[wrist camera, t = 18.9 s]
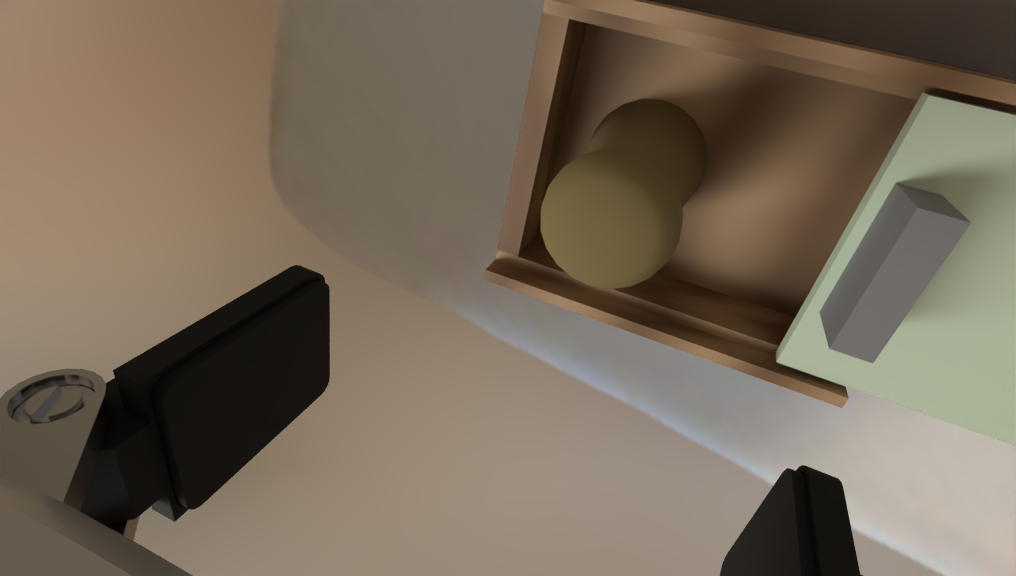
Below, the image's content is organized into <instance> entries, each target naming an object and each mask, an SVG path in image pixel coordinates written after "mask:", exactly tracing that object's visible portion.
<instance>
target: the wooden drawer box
mask: <svg viewBox="0 0 1016 576" xmlns="http://www.w3.org/2000/svg"><path fill="white" fill-rule="evenodd" d="M923 92H924V93H928V94H933V95H937V96H941V97H946V98H950V99H954V100H959V101H963V102H968V103H972V104H976V105H981V106H985V107H989V108H994V109H998V110H1002V111H1007V112H1011V113H1015V114H1016V81H1012V80H1009V79H1005V78H1002V77H998V76H995V75H991V74H987V73H982V72H977V71H973V70H968V69H964V68H959V67H954V66H950V65H945V64H941V63H936V62H931V61H927V60H922V59H918V58H913V57H908V56H904V55H899V54H895V53H890V52H885V51H881V50H876V49H872V48H867V47H862V46H858V45H853V44H849V43H844V42H839V41H835V40H830V39H826V38H821V37H816V36H812V35H807V34H803V33H798V32H793V31H789V30H784V29H780V28H775V27H770V26H766V25H761V24H757V23H752V22H747V21H743V20H738V19H734V18H729V17H724V16H720V15H715V14H711V13H706V12H701V11H697V10H692V9H688V8H683V7H678V6H674V5H669V4H665V3H660V2H655V1H651V0H545V2H544V8H543V13H542V18H541V23H540V29H539V34H538V39H537V44H536V50H535V55H534V60H533V65H532V71H531V76H530V81H529V87H528V92H527V97H526V102H525V108H524V113H523V118H522V123H521V129H520V134H519V139H518V144H517V150H516V155H515V160H514V165H513V171H512V176H511V181H510V186H509V192H508V197H507V202H506V207H505V213H504V218H503V223H502V228H501V234H500V239H499V244H498V249H497V255H496V259H495V260H494V262H493V263H492V264H491V265H490V266H489V267H488V268H487V269H486V271H485V276H484V280H487V281H490V282H492V283H495V284H498V285H501V286H504V287H506V288H509V289H512V290H515V291H517V292H520V293H523V294H526V295H529V296H531V297H534V298H537V299H540V300H543V301H545V302H548V303H551V304H554V305H557V306H559V307H562V308H565V309H568V310H570V311H573V312H576V313H579V314H582V315H584V316H587V317H590V318H593V319H596V320H598V321H601V322H604V323H607V324H609V325H612V326H615V327H618V328H621V329H623V330H626V331H629V332H632V333H635V334H637V335H640V336H643V337H646V338H649V339H651V340H654V341H657V342H660V343H662V344H665V345H668V346H671V347H674V348H676V349H679V350H682V351H685V352H688V353H690V354H693V355H696V356H699V357H701V358H704V359H707V360H710V361H713V362H715V363H718V364H721V365H724V366H727V367H729V368H732V369H735V370H738V371H741V372H743V373H746V374H749V375H752V376H754V377H757V378H760V379H763V380H766V381H768V382H771V383H774V384H777V385H780V386H782V387H785V388H788V389H791V390H793V391H796V392H799V393H802V394H805V395H807V396H810V397H813V398H816V399H819V400H821V401H824V402H827V403H830V404H833V405H835V406H838V407H841V408H842V407H843V406H844V404H845V403H846V401H847V400H848V394H847V391H846V387H845V386H843V385H840V384H837V383H834V382H831V381H829V380H826V379H823V378H820V377H817V376H814V375H811V374H809V373H806V372H803V371H800V370H797V369H794V368H791V367H789V366H786V365H783V364H780V363H777V362H776V355H775V353H776V351H777V349H778V347H779V346H780V344H781V342H782V340H783V338H784V337H785V335H786V333H787V331H788V330H789V328H790V326H791V324H792V323H793V321H794V319H795V317H796V315H797V314H798V312H799V310H800V308H801V307H802V305H803V303H804V301H805V300H806V298H807V296H808V294H809V292H810V291H811V289H812V287H813V285H814V284H815V282H816V280H817V278H818V277H819V275H820V273H821V271H822V269H823V268H824V266H825V264H826V262H827V261H828V259H829V257H830V255H831V254H832V252H833V250H834V248H835V246H836V245H837V243H838V241H839V239H840V238H841V236H842V234H843V232H844V231H845V229H846V227H847V225H848V223H849V222H850V220H851V218H852V216H853V215H854V213H855V211H856V209H857V208H858V206H859V204H860V202H861V200H862V199H863V197H864V195H865V193H866V192H867V190H868V188H869V186H870V185H871V183H872V181H873V179H874V177H875V176H876V174H877V172H878V170H879V169H880V167H881V165H882V163H883V162H884V160H885V158H886V156H887V154H888V153H889V151H890V149H891V147H892V146H893V144H894V142H895V140H896V139H897V137H898V135H899V133H900V131H901V130H902V128H903V126H904V124H905V123H906V121H907V119H908V117H909V116H910V114H911V112H912V110H913V109H914V107H915V105H916V103H917V101H918V100H919V98H920V96H921V94H922V93H923ZM639 99H657V100H664V101H666V102H669V103H671V104H674V105H676V106H679V107H681V108H682V109H683V110H684V111H685V112H686V113H688V114H689V115H690V116H691V117H692V118H693V119H695V121H696V123H697V125H698V126H699V128H700V130H701V132H702V133H703V135H704V138H705V144H706V150H707V161H706V167H705V173H704V176H703V178H702V180H701V182H700V183H699V185H698V187H697V189H696V191H695V192H694V194H693V195H692V196H691V197H690V199H689V200H688V201H687V202H686V204H685V205H684V206H683V207H682V209H683V214H684V215H683V221H682V228H681V235H680V240H679V243H678V245H677V247H676V248H675V250H674V252H673V254H672V256H671V258H670V260H669V261H668V262H667V263H666V264H665V265H663V266H662V267H661V268H660V269H659V270H658V271H657V272H656V273H655V274H654V275H653V276H651V277H650V278H649V279H646V280H644V281H642V282H640V283H638V284H635V285H633V286H631V287H623V288H616V289H607V288H600V287H594V286H590V285H588V284H585V283H583V282H581V281H579V280H577V279H574V278H572V277H571V276H570V275H569V274H568V273H566V272H565V271H564V270H563V269H562V268H560V267H559V266H558V265H557V264H556V262H555V261H554V259H553V258H552V256H551V255H550V253H549V252H548V250H547V249H546V246H545V243H544V239H543V236H542V233H541V207H542V203H543V200H544V197H545V195H546V192H547V189H548V186H549V184H550V183H551V182H552V181H553V179H554V178H555V177H556V176H557V174H558V173H559V172H560V171H561V169H562V168H563V167H565V166H566V165H567V164H569V163H570V162H572V161H573V160H575V159H576V158H578V157H580V156H581V155H583V154H584V153H586V150H587V148H588V145H589V143H590V141H591V138H592V136H593V133H594V131H595V129H596V128H597V127H598V125H599V124H600V123H601V122H602V120H603V119H604V118H605V117H606V115H607V114H609V113H610V112H612V111H613V110H615V109H616V108H618V107H619V106H621V105H622V104H625V103H629V102H632V101H636V100H639Z"/></svg>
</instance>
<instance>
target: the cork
mask: <svg viewBox="0 0 1016 576" xmlns="http://www.w3.org/2000/svg"><path fill="white" fill-rule="evenodd" d="M706 161H707V150H706V144H705V138H704V135H703V133H702V132H701V130H700V128H699V126H698V125H697V123H696V121H695V119H693V118H692V117H691V116H690V115H689V114H688V113H686V112H685V111H684V110H683V109H682V108H681V107H679V106H676V105H674V104H671V103H669V102H666V101H664V100H657V99H639V100H636V101H632V102H629V103H625V104H622V105H621V106H619V107H618V108H616V109H615V110H613V111H612V112H610V113H609V114H607V115H606V117H605V118H604V119H603V120H602V122H601V123H600V124H599V125H598V127H597V128H596V129H595V131H594V133H593V136H592V138H591V141H590V143H589V145H588V148H587V150H586V153H584V154H583V155H581V156H580V157H578V158H576V159H575V160H573V161H572V162H570V163H569V164H567V165H566V166H565V167H563V168H562V169H561V171H560V172H559V173H558V174H557V176H556V177H555V178H554V179H553V181H552V182H551V183H550V184H549V186H548V189H547V192H546V195H545V197H544V200H543V203H542V207H541V233H542V236H543V239H544V243H545V246H546V249H547V250H548V252H549V253H550V255H551V256H552V258H553V259H554V261H555V262H556V264H557V265H558V266H559V267H560V268H562V269H563V270H564V271H565V272H566V273H568V274H569V275H570V276H571V277H572V278H574V279H577V280H579V281H581V282H583V283H585V284H588V285H590V286H594V287H600V288H607V289H616V288H623V287H631V286H633V285H635V284H638V283H640V282H642V281H644V280H646V279H649V278H650V277H651V276H653V275H654V274H655V273H656V272H657V271H658V270H659V269H660V268H661V267H662V266H663V265H665V264H666V263H667V262H668V261H669V260H670V258H671V256H672V254H673V252H674V250H675V248H676V247H677V245H678V243H679V240H680V235H681V228H682V221H683V215H684V214H683V209H682V207H683V206H684V205H685V204H686V202H687V201H688V200H689V199H690V197H691V196H692V195H693V194H694V192H695V191H696V189H697V187H698V185H699V183H700V182H701V180H702V178H703V176H704V173H705V167H706Z"/></svg>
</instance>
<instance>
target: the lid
mask: <svg viewBox="0 0 1016 576" xmlns="http://www.w3.org/2000/svg"><path fill="white" fill-rule="evenodd" d="M775 355H776V362H777V363H780V364H783V365H786V366H789V367H791V368H794V369H797V370H800V371H803V372H806V373H809V374H811V375H814V376H817V377H820V378H823V379H826V380H829V381H831V382H834V383H837V384H840V385H843V386H846V387H849V388H851V389H854V390H857V391H860V392H863V393H866V394H869V395H871V396H874V397H877V398H880V399H883V400H886V401H889V402H891V403H894V404H897V405H900V406H903V407H906V408H909V409H911V410H914V411H917V412H920V413H923V414H926V415H929V416H931V417H934V418H937V419H940V420H943V421H946V422H949V423H952V424H954V425H957V426H960V427H963V428H966V429H969V430H972V431H974V432H977V433H980V434H983V435H986V436H989V437H992V438H994V439H997V440H1000V441H1003V442H1006V443H1009V444H1012V445H1014V446H1016V114H1015V113H1011V112H1007V111H1002V110H998V109H994V108H989V107H985V106H981V105H976V104H972V103H968V102H963V101H959V100H954V99H950V98H946V97H941V96H937V95H933V94H928V93H924V92H923V93H922V94H921V96H920V98H919V100H918V101H917V103H916V105H915V107H914V109H913V110H912V112H911V114H910V116H909V117H908V119H907V121H906V123H905V124H904V126H903V128H902V130H901V131H900V133H899V135H898V137H897V139H896V140H895V142H894V144H893V146H892V147H891V149H890V151H889V153H888V154H887V156H886V158H885V160H884V162H883V163H882V165H881V167H880V169H879V170H878V172H877V174H876V176H875V177H874V179H873V181H872V183H871V185H870V186H869V188H868V190H867V192H866V193H865V195H864V197H863V199H862V200H861V202H860V204H859V206H858V208H857V209H856V211H855V213H854V215H853V216H852V218H851V220H850V222H849V223H848V225H847V227H846V229H845V231H844V232H843V234H842V236H841V238H840V239H839V241H838V243H837V245H836V246H835V248H834V250H833V252H832V254H831V255H830V257H829V259H828V261H827V262H826V264H825V266H824V268H823V269H822V271H821V273H820V275H819V277H818V278H817V280H816V282H815V284H814V285H813V287H812V289H811V291H810V292H809V294H808V296H807V298H806V300H805V301H804V303H803V305H802V307H801V308H800V310H799V312H798V314H797V315H796V317H795V319H794V321H793V323H792V324H791V326H790V328H789V330H788V331H787V333H786V335H785V337H784V338H783V340H782V342H781V344H780V346H779V347H778V349H777V351H776V353H775Z"/></svg>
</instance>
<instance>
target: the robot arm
mask: <svg viewBox="0 0 1016 576" xmlns="http://www.w3.org/2000/svg"><path fill="white" fill-rule="evenodd" d="M329 309H330V308H329V286H328V285H327V284H326V283H325V279H324V277H323V275H321V274H319V273H317V272H314V271H312V270H309V269H307V268H304V267H302V266H297V265H295V266H292V267H290V268H288V269H286V270H285V271H283V272H281V273H280V274H278V275H276V276H274V277H273V278H271V279H269V280H268V281H266V282H264V283H262V284H261V285H259V286H257V287H256V288H254V289H252V290H250V291H249V292H247V293H245V294H243V295H242V296H240V297H238V298H237V299H235V300H233V301H231V302H230V303H228V304H226V305H225V306H223V307H221V308H219V309H218V310H216V311H214V312H213V313H211V314H209V315H207V316H206V317H204V318H202V319H200V320H199V321H197V322H195V323H194V324H192V325H190V326H189V327H187V328H185V329H183V330H182V331H180V332H178V333H176V334H175V335H173V336H171V337H170V338H168V339H167V340H165V341H163V342H161V343H159V344H158V345H156V346H154V347H152V348H151V349H149V350H147V351H146V352H144V353H142V354H140V355H139V356H137V357H135V358H133V359H132V360H130V361H128V362H127V363H125V364H123V365H122V366H120V367H118V368H116V369H115V370H113V372H114V375H115V378H114V379H112V380H111V381H109V382H107V383H105V381H104V380H103V378H102V377H101V376H99V375H98V374H96V373H95V372H92V371H88V370H84V369H62V370H55V371H49V372H46V373H43V374H39V375H36V376H33V377H31V378H29V379H27V380H24V381H23V382H20V383H18V384H17V385H15V386H14V387H12V388H11V389H10V390H8V391H7V392H6V393H5V394H4V395H3V396H2V397H1V398H0V576H192V575H191V574H189V573H187V572H185V571H184V570H182V569H180V568H179V567H177V566H175V565H173V564H172V563H170V562H168V561H167V560H165V559H163V558H161V557H160V556H158V555H156V554H154V553H153V552H151V551H149V550H148V549H146V548H144V547H143V546H141V545H139V544H137V543H136V542H134V541H133V540H134V537H135V532H136V529H137V524H138V521H139V516H140V515H141V514H142V513H143V512H144V511H146V510H147V509H148V508H149V507H150V506H152V509H153V510H155V511H157V512H158V513H160V514H162V515H164V516H165V517H167V518H169V519H171V520H172V521H174V522H175V521H176V520H177V519H178V518H179V517H180V516H182V515H183V514H184V513H185V512H186V511H187V510H188V509H196V508H198V507H199V506H201V505H202V504H203V503H204V502H205V501H207V500H208V499H209V498H210V497H211V496H212V495H213V494H214V493H215V492H216V491H217V490H218V489H219V488H221V487H222V486H223V485H224V484H225V483H226V482H227V481H228V480H229V479H230V478H231V477H233V476H234V475H235V474H236V473H237V472H238V471H239V470H240V469H241V468H242V467H243V466H244V465H246V464H247V463H248V462H249V461H250V460H251V459H252V458H253V457H254V456H255V455H256V454H257V453H259V452H260V451H261V450H262V449H263V448H264V447H265V446H266V445H267V444H268V443H269V442H270V441H271V440H273V439H274V438H275V437H276V436H277V435H278V434H279V433H280V432H281V431H282V430H283V429H284V428H286V427H287V426H288V425H289V424H290V423H291V422H292V421H293V420H294V419H295V418H296V417H298V416H299V415H300V414H301V413H302V412H303V411H304V410H305V409H306V408H307V407H308V406H310V405H311V404H312V403H313V402H314V401H315V400H316V399H317V398H318V397H319V396H320V395H321V394H322V393H323V392H324V391H325V389H326V387H327V385H328V383H329V377H330V371H329V370H330V365H329V364H330V352H329V350H330V345H329V342H330V340H329V338H330V337H329V336H330V335H329V334H330V332H329V331H330V330H329V329H330V323H329V321H330V317H329V316H330V314H329V313H330V312H329ZM720 576H863V575H860V571H859V566H858V562H857V556H856V551H855V546H854V541H853V536H852V531H851V525H850V520H849V515H848V510H847V505H846V500H845V495H844V490H843V486H842V483H841V481H840V480H839V479H838V478H835V477H832V476H830V475H827V474H825V473H822V472H820V471H817V470H815V469H812V468H810V467H807V466H803V465H802V466H800V467H799V468H798V469H797V470H796V471H794V470H792V469H788V468H787V469H786V470H784V472H783V473H782V474H781V476H780V477H779V479H778V480H777V482H776V483H775V485H774V486H773V487H772V489H771V490H770V492H769V493H768V495H767V496H766V498H765V499H764V501H763V502H762V504H761V505H760V507H759V508H758V510H757V511H756V513H755V514H754V515H753V517H752V518H751V520H750V521H749V523H748V524H747V526H746V527H745V529H744V530H743V532H742V533H741V535H740V536H739V537H738V539H737V540H736V542H735V544H734V545H733V546H732V548H731V549H730V551H729V552H728V554H727V555H726V557H725V559H724V561H723V564H722V568H721V573H720Z"/></svg>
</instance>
